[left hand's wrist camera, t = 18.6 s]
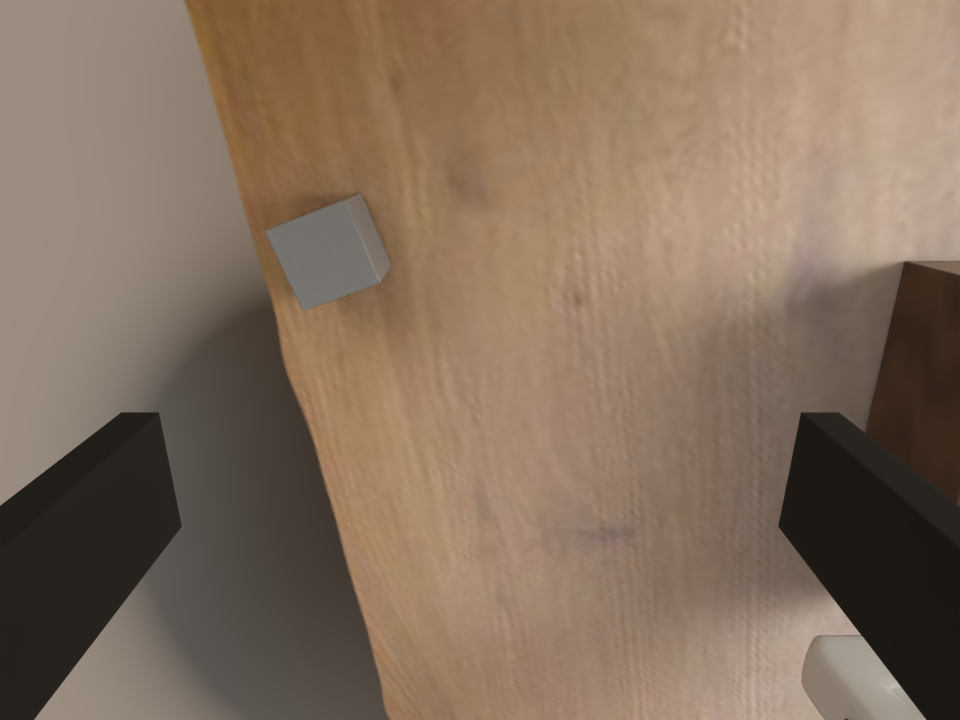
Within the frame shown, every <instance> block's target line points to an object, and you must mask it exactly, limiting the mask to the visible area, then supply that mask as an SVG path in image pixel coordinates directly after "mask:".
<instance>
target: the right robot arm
mask: <svg viewBox="0 0 960 720" xmlns="http://www.w3.org/2000/svg"><path fill="white" fill-rule="evenodd" d="M802 685H803V688H804V690H805V692H806V693H807V695H808V697H809V698H810V700H811V701H812V703H813V704H814V706H815V707H816V709H817V710H818V711H819V713H820V714H821V716H822V717H823V719H824V720H926V719H925V718H924V716H923V715H922V714H921V712H920V711H919V710H918V708H917V707H916V706H915V705H914V703H913V702H912V701H911V699H910V698H909V697H908V695H907V694H906V693H905V691H904V690H903V689H902V688H901V686H900V685H899V684H898V682H897V681H896V680H895V678H894V677H893V676H892V674H891V673H890V672H889V671H888V669H887V668H886V667H885V665H884V664H883V663H882V661H881V660H880V659H879V657H878V656H877V655H876V654H875V652H874V651H873V650H872V648H871V647H870V646H869V644H868V643H867V642H866V640H865V639H864V638H863V637H862V635H819V636H816V637H815V638H813V640H812V642H811V644H810V646H809V648H808V651H807V654H806V657H805V660H804V664H803V670H802Z"/></svg>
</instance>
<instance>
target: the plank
mask: <svg viewBox="0 0 960 720" xmlns="http://www.w3.org/2000/svg"><path fill="white" fill-rule="evenodd" d="M866 434H867V435H868V436H870V437H871V438H872V439H874V440H875V441H876V442H878V443H879V444H880V445H881V446H883V447H884V448H885V449H887V450H888V451H889V452H890V453H892V454H893V455H894V456H896V457H897V458H898V459H900V460H901V461H902V462H903V463H905V464H906V465H907V466H909V467H910V468H911V469H913V470H914V471H915V472H916V473H918V474H919V475H920V476H922V477H923V478H924V479H926V480H927V481H928V482H929V483H931V484H932V485H933V486H935V487H936V488H937V489H939V490H940V491H941V492H942V493H944V494H945V495H946V496H948V497H949V498H950V499H951V500H953V501H954V502H955V503H957V504H958V505H959V506H960V261H905V263H904V267H903V272H902V276H901V281H900V285H899V289H898V294H897V298H896V303H895V307H894V311H893V316H892V320H891V325H890V329H889V333H888V338H887V342H886V347H885V351H884V355H883V360H882V364H881V369H880V373H879V377H878V382H877V386H876V391H875V395H874V399H873V404H872V408H871V413H870V417H869V421H868V426H867V430H866Z"/></svg>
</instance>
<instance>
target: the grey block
mask: <svg viewBox="0 0 960 720" xmlns="http://www.w3.org/2000/svg"><path fill="white" fill-rule="evenodd" d="M265 233H266V235H267V237H268V240H269V242H270V244H271V246H272V248H273V250H274V252H275V254H276V256H277V258H278V260H279V262H280V265H281V267H282V269H283V271H284V273H285V275H286V277H287V279H288V281H289V283H290V285H291V287H292V289H293V292H294V294H295V296H296V298H297V300H298V302H299V304H300V306H301V308H302V310H303V311H305V310H308V309H311V308H314V307H316V306H319V305H322V304H324V303H327V302H330V301H333V300H335V299H338V298H341V297H344V296H346V295H349V294H352V293H355V292H357V291H360V290H363V289H366V288H368V287H371V286H374V285H377V284H379V283H380V282H381V281H382V280H383V278H384V277H385V275H386V274H387V272H388V271H389V269H390V268H391V266H392V265H391V263H390V260H389V258H388V255H387V253H386V251H385V248H384V246H383V243H382V241H381V239H380V236H379V234H378V231H377V229H376V227H375V224H374V222H373V219H372V217H371V215H370V212H369V210H368V207H367V205H366V203H365V200H364V198H363V195H362V193H359V194H356V195H353V196H351V197H348V198H346V199H343V200H340V201H338V202H335V203H333V204H330V205H327V206H325V207H322V208H320V209H317V210H314V211H312V212H309V213H307V214H304V215H302V216H299V217H296V218H294V219H291V220H289V221H287V222H284V223H282V224H280V225H277V226H275V227H273V228H271V229H268V230H266V231H265Z"/></svg>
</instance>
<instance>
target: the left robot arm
mask: <svg viewBox="0 0 960 720" xmlns="http://www.w3.org/2000/svg"><path fill="white" fill-rule="evenodd" d="M778 527H779V528H780V529H781V531H782V532H783V533H784V535H785V536H786V537H787V538H788V540H789V541H790V542H791V544H792V545H793V546H794V548H795V549H796V550H797V552H798V553H799V554H800V555H801V557H802V558H803V559H804V561H805V562H806V563H807V565H808V566H809V567H810V569H811V570H812V571H813V572H814V574H815V575H816V576H817V578H818V579H819V580H820V582H821V583H822V584H823V586H824V587H825V588H826V589H827V591H828V592H829V593H830V595H831V596H832V597H833V599H834V600H835V601H836V603H837V604H838V605H839V606H840V608H841V609H842V610H843V612H844V613H845V614H846V616H847V617H848V618H849V620H850V621H851V622H852V623H853V625H854V626H855V627H856V629H857V630H858V631H859V633H860V634H861V635H862V637H863V638H864V639H865V640H866V642H867V643H868V644H869V646H870V647H871V648H872V650H873V651H874V652H875V654H876V655H877V656H878V657H879V659H880V660H881V661H882V663H883V664H884V665H885V667H886V668H887V669H888V671H889V672H890V673H891V674H892V676H893V677H894V678H895V680H896V681H897V682H898V684H899V685H900V686H901V688H902V689H903V690H904V691H905V693H906V694H907V695H908V697H909V698H910V699H911V701H912V702H913V703H914V705H915V706H916V707H917V708H918V710H919V711H920V712H921V714H922V715H923V716H924V718H925V719H926V720H960V506H959V505H958V504H957V503H955V502H954V501H953V500H951V499H950V498H949V497H948V496H946V495H945V494H944V493H942V492H941V491H940V490H939V489H937V488H936V487H935V486H933V485H932V484H931V483H929V482H928V481H927V480H926V479H924V478H923V477H922V476H920V475H919V474H918V473H916V472H915V471H914V470H913V469H911V468H910V467H909V466H907V465H906V464H905V463H903V462H902V461H901V460H900V459H898V458H897V457H896V456H894V455H893V454H892V453H890V452H889V451H888V450H887V449H885V448H884V447H883V446H881V445H880V444H879V443H878V442H876V441H875V440H874V439H872V438H871V437H870V436H868V435H867V434H866V433H865V432H863V431H862V430H861V429H859V428H858V427H857V426H855V425H854V424H853V423H852V422H850V421H849V420H848V419H846V418H845V417H844V416H842V415H841V414H840V413H801V416H800V421H799V426H798V431H797V436H796V441H795V446H794V451H793V456H792V461H791V466H790V471H789V476H788V481H787V486H786V491H785V496H784V501H783V506H782V511H781V516H780V521H779V526H778ZM180 528H181V521H180V516H179V511H178V506H177V501H176V496H175V491H174V486H173V481H172V476H171V471H170V466H169V461H168V456H167V451H166V446H165V441H164V436H163V431H162V426H161V421H160V416H159V413H120V414H119V415H118V416H116V417H115V418H114V419H112V420H111V421H110V422H108V423H107V424H106V425H105V426H103V427H102V428H101V429H99V430H98V431H97V432H96V433H94V434H93V435H92V436H90V437H89V438H88V439H86V440H85V441H84V442H83V443H81V444H80V445H79V446H77V447H76V448H75V449H73V450H72V451H71V452H70V453H68V454H67V455H66V456H64V457H63V458H62V459H60V460H59V461H58V462H57V463H55V464H54V465H53V466H51V467H50V468H49V469H48V470H46V471H45V472H44V473H42V474H41V475H40V476H38V477H37V478H36V479H34V480H33V481H32V482H31V483H29V484H28V485H27V486H25V487H24V488H23V489H22V490H20V491H19V492H18V493H16V494H15V495H14V496H12V497H11V498H10V499H9V500H7V501H6V502H5V503H3V504H2V505H1V506H0V720H34V719H35V718H36V716H37V715H38V714H39V712H40V711H41V710H42V708H43V707H44V706H45V705H46V703H47V702H48V701H49V699H50V698H51V697H52V695H53V694H54V693H55V691H56V690H57V689H58V688H59V686H60V685H61V684H62V682H63V681H64V680H65V678H66V677H67V676H68V674H69V673H70V672H71V670H72V669H73V668H74V667H75V665H76V664H77V663H78V661H79V660H80V659H81V657H82V656H83V655H84V653H85V652H86V651H87V650H88V648H89V647H90V646H91V644H92V643H93V642H94V640H95V639H96V638H97V637H98V635H99V634H100V633H101V631H102V630H103V629H104V627H105V626H106V625H107V623H108V622H109V621H110V620H111V618H112V617H113V616H114V614H115V613H116V612H117V610H118V609H119V608H120V606H121V605H122V604H123V602H124V601H125V600H126V599H127V597H128V596H129V595H130V593H131V592H132V591H133V589H134V588H135V587H136V586H137V584H138V583H139V582H140V580H141V579H142V578H143V576H144V575H145V574H146V572H147V571H148V570H149V569H150V567H151V566H152V565H153V563H154V562H155V561H156V559H157V558H158V557H159V555H160V554H161V553H162V552H163V550H164V549H165V548H166V546H167V545H168V544H169V542H170V541H171V540H172V538H173V537H174V536H175V535H176V533H177V532H178V530H179V529H180Z"/></svg>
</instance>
